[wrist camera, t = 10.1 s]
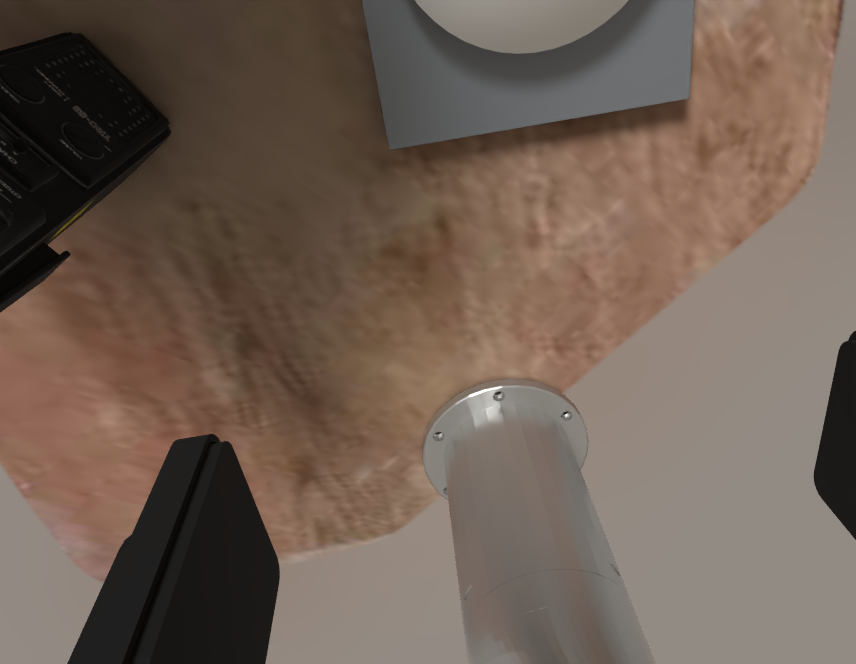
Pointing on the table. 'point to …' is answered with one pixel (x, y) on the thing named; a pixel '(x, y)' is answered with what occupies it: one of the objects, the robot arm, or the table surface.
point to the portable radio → (62, 148)
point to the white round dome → (520, 21)
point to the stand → (522, 72)
